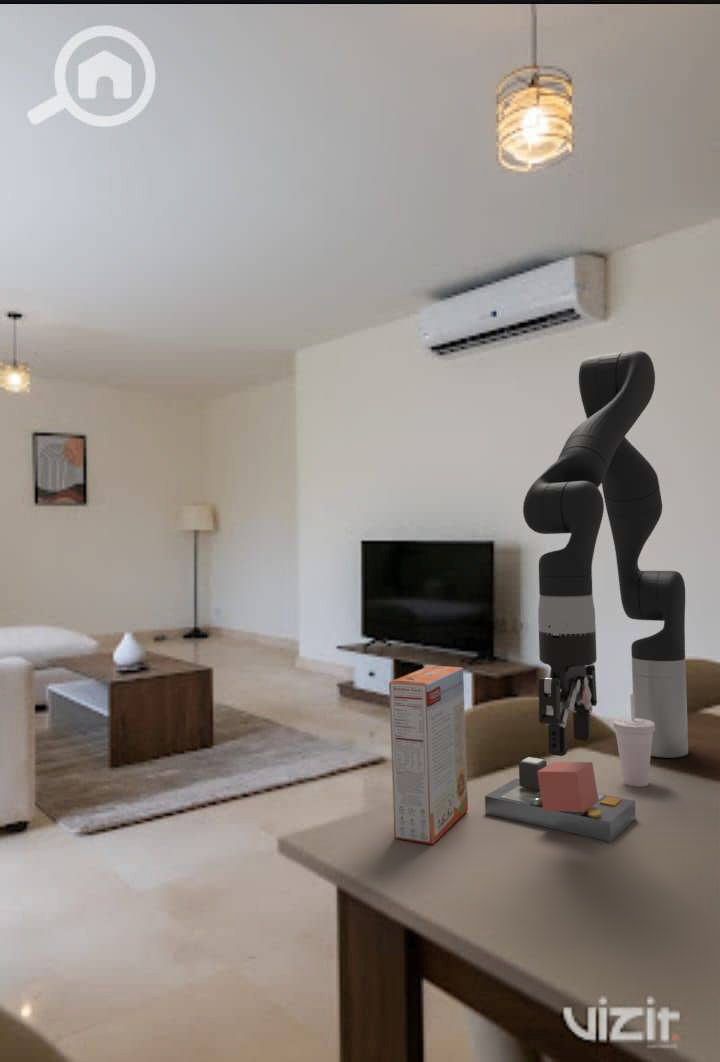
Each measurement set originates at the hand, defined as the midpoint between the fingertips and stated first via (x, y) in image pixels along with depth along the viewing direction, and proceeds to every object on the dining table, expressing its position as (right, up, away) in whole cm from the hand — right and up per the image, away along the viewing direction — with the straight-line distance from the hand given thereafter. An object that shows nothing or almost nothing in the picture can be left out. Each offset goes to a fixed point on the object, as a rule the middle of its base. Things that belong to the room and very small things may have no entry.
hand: (570, 747), depth 101 cm
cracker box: (-19, -11, +1) cm, 22 cm away
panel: (-1, -11, +3) cm, 11 cm away
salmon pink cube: (0, -8, -1) cm, 8 cm away
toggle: (-3, -8, +9) cm, 12 cm away
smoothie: (+15, -11, +18) cm, 26 cm away
